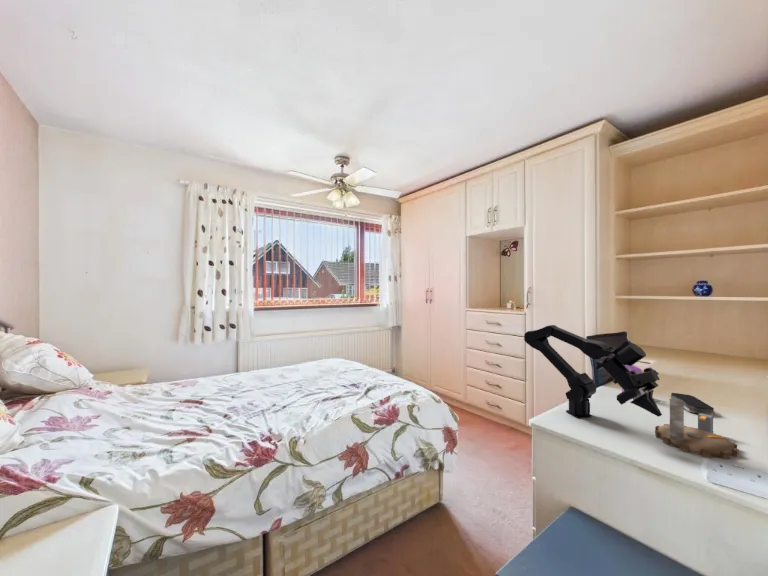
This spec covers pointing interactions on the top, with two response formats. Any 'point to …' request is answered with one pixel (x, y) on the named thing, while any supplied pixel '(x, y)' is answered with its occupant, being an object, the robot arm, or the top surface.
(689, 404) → the black sponge
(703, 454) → the sprocket
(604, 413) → the top surface
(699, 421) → the grey toy mallet
